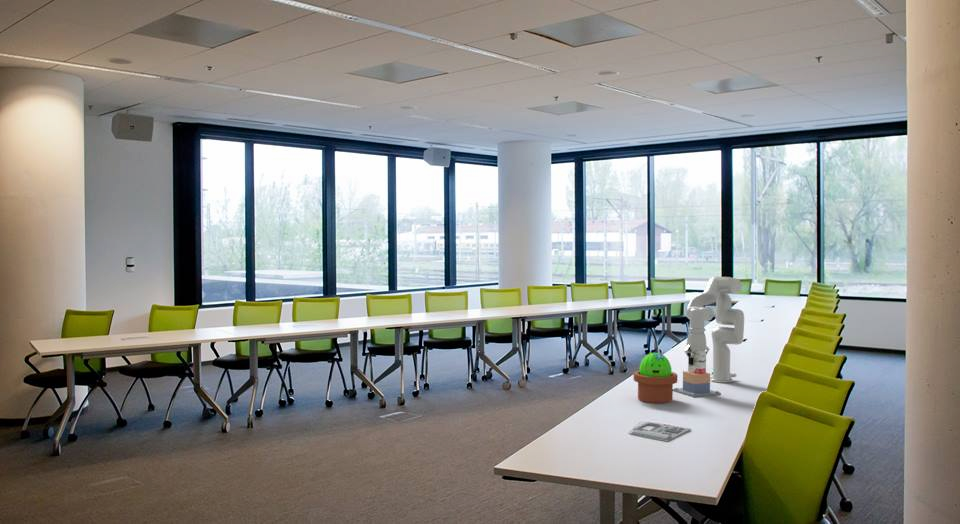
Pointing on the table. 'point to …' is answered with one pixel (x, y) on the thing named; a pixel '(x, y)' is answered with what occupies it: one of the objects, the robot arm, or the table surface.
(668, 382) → the potted cactus
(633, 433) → the grey flat panel
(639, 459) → the table surface
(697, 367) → the ink box
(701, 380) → the studded square plate
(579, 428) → the table surface
